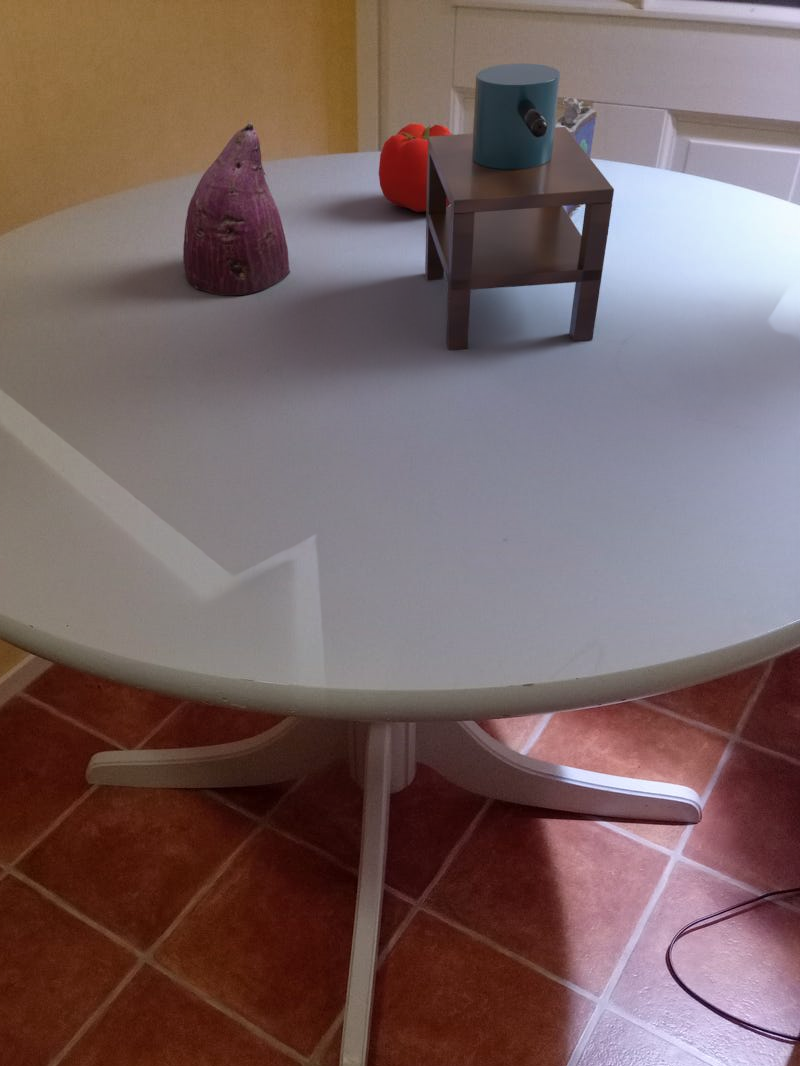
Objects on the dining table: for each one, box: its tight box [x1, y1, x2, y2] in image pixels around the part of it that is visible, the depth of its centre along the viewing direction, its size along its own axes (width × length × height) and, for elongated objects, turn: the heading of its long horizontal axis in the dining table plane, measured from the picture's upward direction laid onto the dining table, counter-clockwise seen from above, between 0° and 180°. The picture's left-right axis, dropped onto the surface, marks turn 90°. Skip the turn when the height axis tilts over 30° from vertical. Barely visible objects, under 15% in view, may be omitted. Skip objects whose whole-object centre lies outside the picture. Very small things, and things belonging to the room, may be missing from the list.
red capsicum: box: [378, 123, 453, 213], centre depth 103 cm, size 9×9×8 cm
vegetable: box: [182, 121, 291, 296], centre depth 91 cm, size 10×10×15 cm
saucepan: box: [472, 63, 561, 170], centre depth 75 cm, size 6×12×6 cm, turn 2°
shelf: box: [424, 127, 615, 351], centre depth 83 cm, size 12×16×12 cm
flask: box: [555, 96, 597, 218], centre depth 98 cm, size 9×3×11 cm, turn 152°
